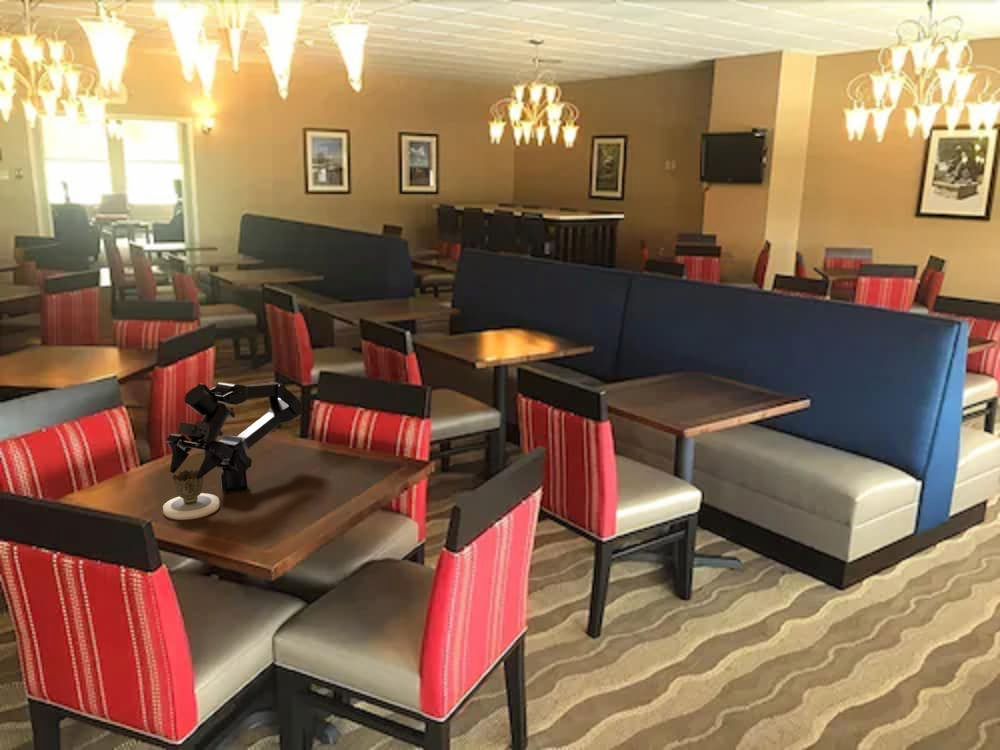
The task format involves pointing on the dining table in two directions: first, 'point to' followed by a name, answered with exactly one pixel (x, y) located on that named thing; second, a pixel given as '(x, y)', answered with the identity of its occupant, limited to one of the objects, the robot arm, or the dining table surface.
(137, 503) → the dining table surface
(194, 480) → the cup
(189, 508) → the hub plate
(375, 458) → the dining table surface
